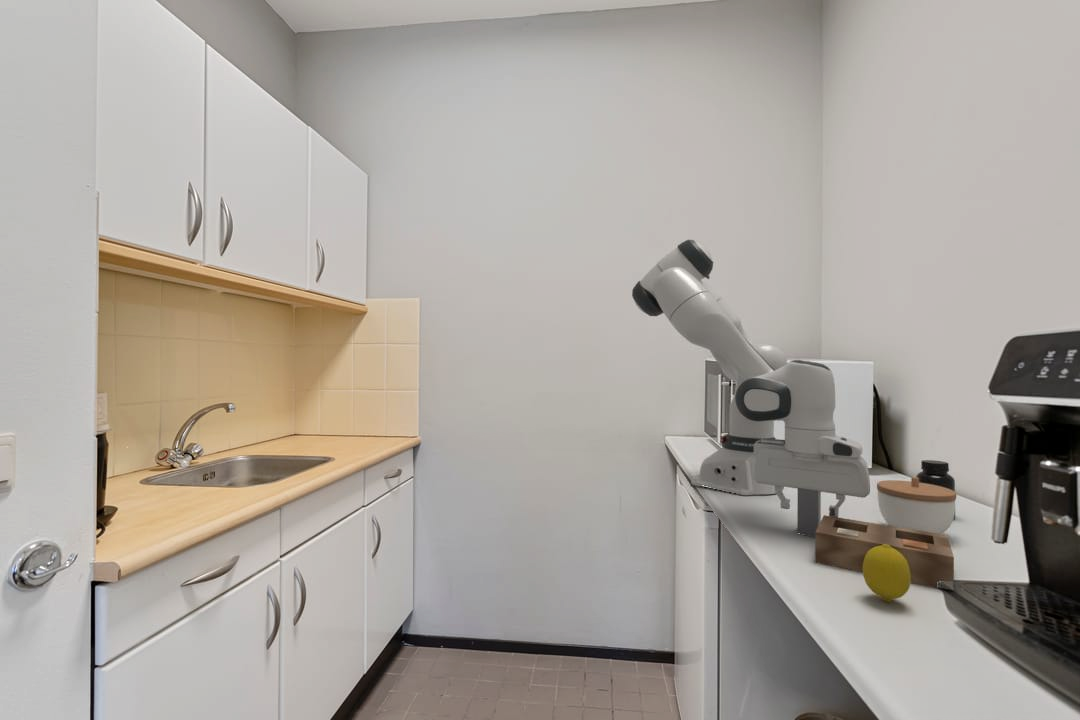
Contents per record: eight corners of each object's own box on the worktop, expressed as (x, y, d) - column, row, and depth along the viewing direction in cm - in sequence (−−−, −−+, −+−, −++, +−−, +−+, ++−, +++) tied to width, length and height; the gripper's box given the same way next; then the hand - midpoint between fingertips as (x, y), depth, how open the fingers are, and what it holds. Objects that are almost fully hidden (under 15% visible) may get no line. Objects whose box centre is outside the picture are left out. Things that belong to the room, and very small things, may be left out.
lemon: (853, 592, 72) (853, 537, 73) (889, 592, 73) (889, 537, 73) (882, 611, 67) (882, 551, 67) (921, 610, 67) (921, 551, 67)
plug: (797, 533, 98) (797, 487, 98) (800, 528, 101) (800, 484, 101) (818, 537, 96) (818, 490, 96) (820, 532, 99) (820, 487, 99)
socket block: (815, 561, 84) (815, 530, 84) (823, 541, 94) (824, 513, 94) (953, 591, 73) (953, 555, 73) (947, 565, 83) (947, 533, 83)
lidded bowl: (870, 532, 99) (870, 477, 99) (883, 519, 108) (884, 468, 108) (952, 549, 90) (952, 488, 90) (959, 533, 99) (959, 478, 99)
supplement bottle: (941, 511, 114) (941, 459, 115) (963, 520, 108) (963, 465, 108) (909, 510, 115) (909, 458, 115) (929, 519, 108) (929, 464, 108)
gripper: (750, 438, 102) (749, 506, 102) (869, 449, 90) (869, 526, 90) (757, 435, 107) (756, 499, 107) (871, 445, 95) (870, 517, 95)
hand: (808, 512), depth 99 cm, fingers open, 7 cm apart
